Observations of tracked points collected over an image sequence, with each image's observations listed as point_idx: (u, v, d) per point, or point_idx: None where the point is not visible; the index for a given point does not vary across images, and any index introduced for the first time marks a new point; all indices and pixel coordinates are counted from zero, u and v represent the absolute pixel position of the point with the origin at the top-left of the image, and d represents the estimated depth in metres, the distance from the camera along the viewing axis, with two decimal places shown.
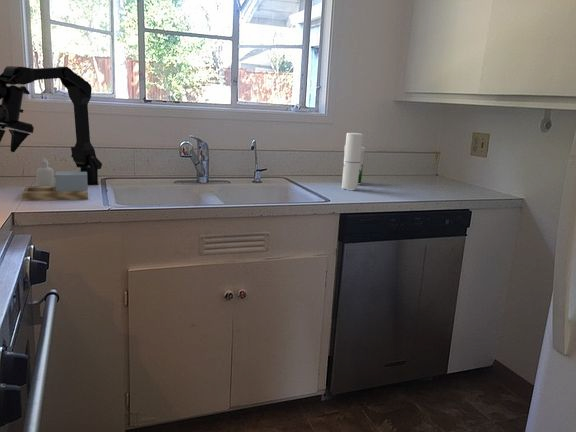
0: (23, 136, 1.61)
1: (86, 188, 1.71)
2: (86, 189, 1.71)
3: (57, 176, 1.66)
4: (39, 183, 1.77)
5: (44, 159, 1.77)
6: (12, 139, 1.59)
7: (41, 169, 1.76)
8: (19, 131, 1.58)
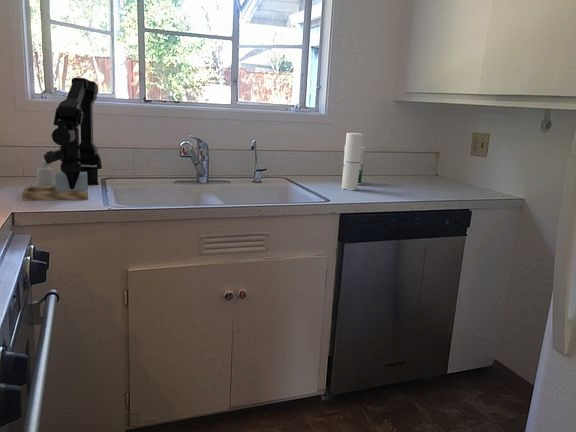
0: (76, 173, 1.66)
1: (86, 188, 1.71)
2: (86, 189, 1.71)
3: (57, 176, 1.66)
4: (39, 183, 1.77)
5: (44, 159, 1.77)
6: (67, 178, 1.67)
7: (41, 169, 1.76)
8: (67, 170, 1.64)
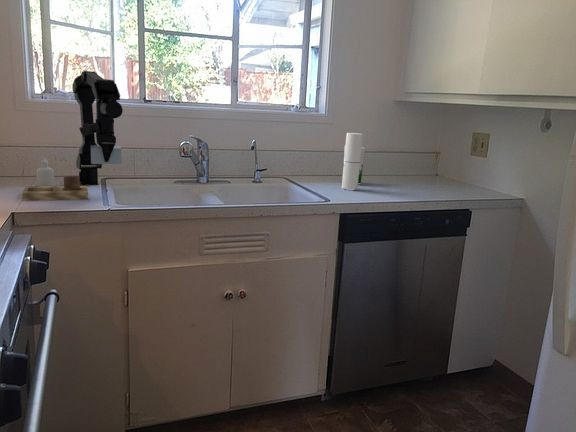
0: (111, 146, 1.70)
1: (120, 161, 1.74)
2: (120, 162, 1.75)
3: (92, 149, 1.70)
4: (39, 183, 1.77)
5: (44, 159, 1.77)
6: (102, 150, 1.70)
7: (41, 169, 1.76)
8: (102, 143, 1.68)
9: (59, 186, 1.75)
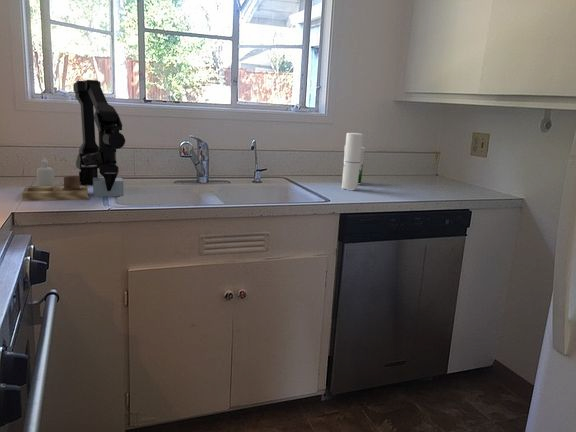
0: (113, 176, 1.72)
1: (122, 193, 1.78)
2: (122, 194, 1.78)
3: (95, 182, 1.73)
4: (39, 183, 1.77)
5: (44, 159, 1.77)
6: (105, 180, 1.72)
7: (41, 169, 1.76)
8: (105, 173, 1.70)
9: (59, 186, 1.75)
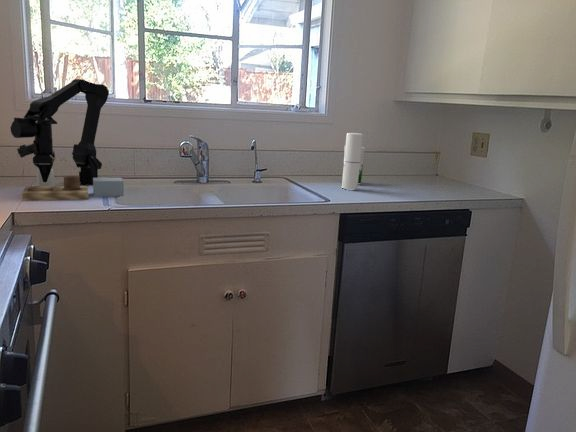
0: (48, 167, 1.73)
1: (122, 193, 1.78)
2: (122, 194, 1.78)
3: (95, 182, 1.73)
4: (39, 183, 1.77)
5: None
6: (40, 171, 1.73)
7: None
8: (39, 164, 1.70)
9: (59, 186, 1.75)
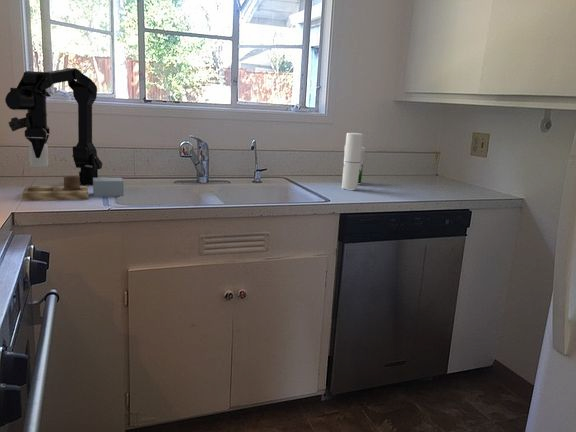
0: (42, 141, 1.62)
1: (122, 193, 1.78)
2: (122, 194, 1.78)
3: (95, 182, 1.73)
4: (32, 159, 1.66)
5: None
6: None
7: None
8: (32, 138, 1.59)
9: (59, 186, 1.75)
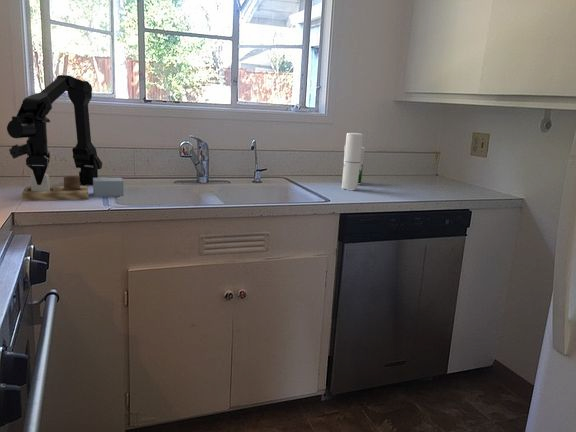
0: (43, 168, 1.61)
1: (122, 193, 1.78)
2: (122, 194, 1.78)
3: (95, 182, 1.73)
4: (31, 189, 1.67)
5: None
6: None
7: (33, 174, 1.66)
8: (33, 165, 1.59)
9: (59, 186, 1.75)
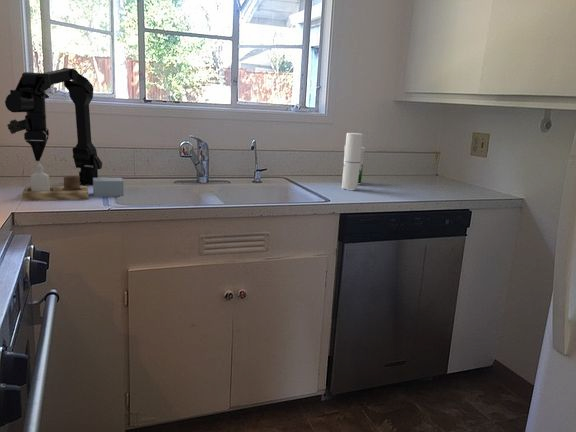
0: (41, 144, 1.59)
1: (122, 193, 1.78)
2: (122, 194, 1.78)
3: (95, 182, 1.73)
4: (31, 189, 1.67)
5: (38, 164, 1.66)
6: (32, 149, 1.60)
7: (33, 174, 1.66)
8: (31, 140, 1.57)
9: (59, 186, 1.75)
